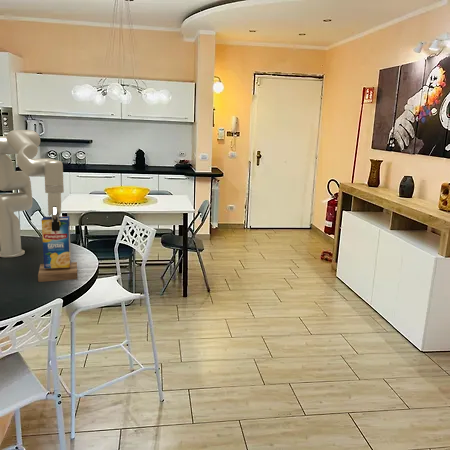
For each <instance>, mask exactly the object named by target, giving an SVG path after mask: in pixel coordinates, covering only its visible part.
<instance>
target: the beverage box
mask: <svg viewBox="0 0 450 450" xmlns="http://www.w3.org/2000/svg"><path fill="white" fill-rule="evenodd" d="M40 221H41V234H42V235H41V236H42V238H41V239H42V251H43V252H42V253H43V264H44V268H69V267H70V265H71V262H72V253H71V252H72V251H71V250H72V249H71V247H72V246H71V227H70V225H71V224H70V221H71V220H70V216H69V215H67V216H65V215H63V216H61V215H59V222H60V231H52V216H43V217H42V218H41V220H40Z"/></svg>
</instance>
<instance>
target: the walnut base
mask: <svg viewBox="0 0 450 450" xmlns="http://www.w3.org/2000/svg"><path fill="white" fill-rule="evenodd" d="M70 280H71V281H72V280H73V281H74V280H78V261H71V265H70V267H69V268H44V263H40V264H39V269H38V274H37V281H38V282H39V283H44V282H57V281H58V282H59V281H70Z"/></svg>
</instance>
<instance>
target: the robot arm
mask: <svg viewBox="0 0 450 450" xmlns="http://www.w3.org/2000/svg"><path fill="white" fill-rule="evenodd" d="M40 144H41V138H40V135H39V133H38V132H36V131H35V130H31V129H13V130H11V131H9V132H7V134H6V135H5V136H0V191H3V192H6V191H7V192H8V191H18V192H10V193H2V194H0V257H1V258H16V257H21V256H23V255H24V254H25V250H24V249H22V242H21V241H22V240H21V225H20V223H21V222H20V219H19V217H18V216H17V215H16V214H15V213H17V212H23V211H28V210H30V209H32V207H33V203H34V202H33V193H32V192H33V191H32V181H31V178H30V177H44V190H45V194H47V209H48V211H47V212H48V213H47V215H48V217H52V231H60V222H59V216H61V212H62V194H63V193H64V191H65V189H64V186H65V185H64V165H63V162H62V160H57V159H56V160H55V159H53V158H49V157H47V158H35V157H36V156H37V155H38V151H39V148H38V147H39V146H40ZM9 155H16V161H17V165H18V168H19V170H14V163H13V160H12V159H11V158H10V156H9Z"/></svg>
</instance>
